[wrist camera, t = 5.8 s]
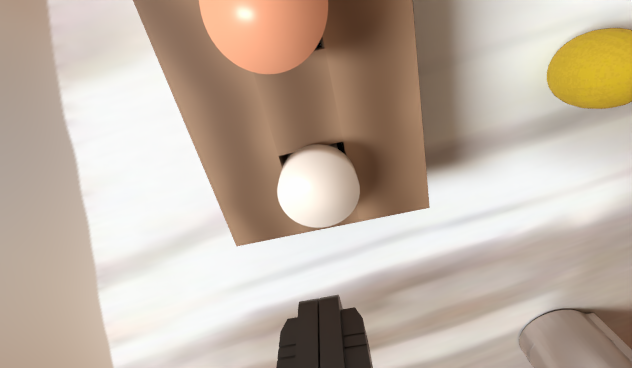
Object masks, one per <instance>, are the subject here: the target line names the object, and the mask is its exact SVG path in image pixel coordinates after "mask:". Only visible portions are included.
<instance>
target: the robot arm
mask: <svg viewBox="0 0 632 368" xmlns="http://www.w3.org/2000/svg"><path fill="white" fill-rule="evenodd" d="M519 345H520V347H521V349H522V351H523V352H524V354H525V355H526V357H527V359H528V360H529V362H530V363H531V365H532V366H533V367H534V368H632V349H631V348H630V347H629V346H628V345H627V344H626V343H625V342H624V341H623V340H621V339H620V338H619V337H618V336H617V335H616V334H615V333H614V332H613V331H612V330H611V329H610V328H609V327H608V326H607V325H606V324H605V323H604V322H603V321H602V320H601V319H600V318H599V317H598V316H597V315H596V314H595V313H589V314H585V313H582V312H579V311H576V310H559V311H554V312H550V313H547V314H545V315H542V316H540V317H538V318H537V319H535V320H533V321H532V322H531V323H530V324H528V325H527V326H526V328H525V329H524V330H523V331H522V333H521V335H520V339H519ZM277 368H373V366H372V360H371V355H370V349H369V344H368V340H367V335H366V331H365V327H364V322H363V318H362V317H361V315H360V314H359V313H358V311H357V310H356V308H355V307H354V308H349V309H343V308H342V305H341V301H340V297H339V295H335V296H329V297H323V298H320V299H312V300H307V301H301V302H299V307H298V317H297V318H291V319H287V321H286V323H285V325H284V327H283V329H282V331H281V334H280V342H279V351H278V361H277Z"/></svg>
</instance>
